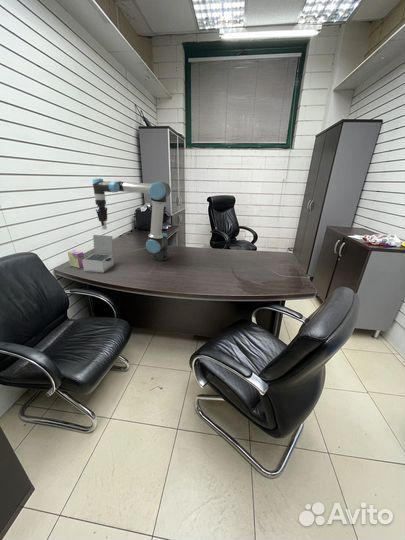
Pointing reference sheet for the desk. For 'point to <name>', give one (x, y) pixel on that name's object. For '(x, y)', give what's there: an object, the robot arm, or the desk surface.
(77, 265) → the box
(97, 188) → the robot arm
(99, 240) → the lid
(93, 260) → the grey boxy piece
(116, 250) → the desk surface
